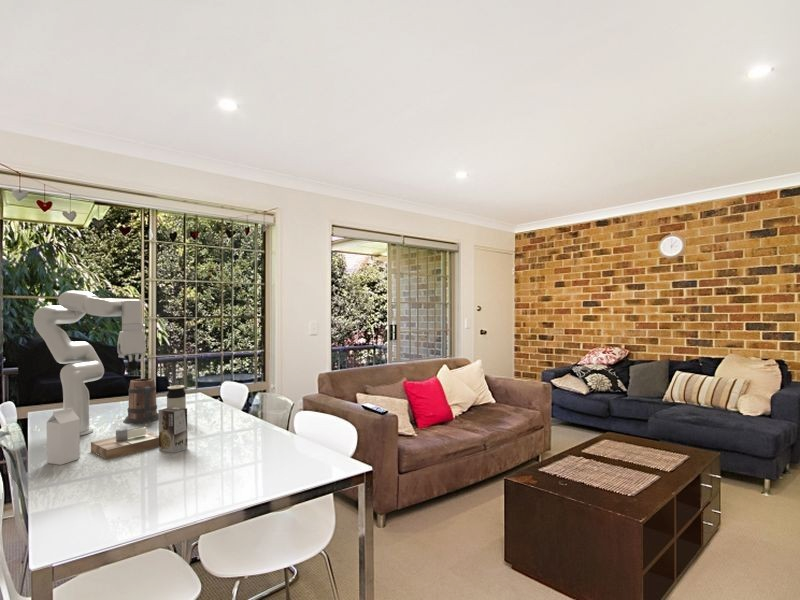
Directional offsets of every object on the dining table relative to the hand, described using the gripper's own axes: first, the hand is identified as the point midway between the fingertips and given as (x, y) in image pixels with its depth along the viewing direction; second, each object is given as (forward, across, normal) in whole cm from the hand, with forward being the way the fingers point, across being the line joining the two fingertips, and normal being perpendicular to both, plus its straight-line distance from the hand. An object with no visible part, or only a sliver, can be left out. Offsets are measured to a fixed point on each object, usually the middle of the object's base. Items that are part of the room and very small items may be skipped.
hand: (132, 370), depth 199 cm
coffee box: (+29, -2, +31) cm, 43 cm away
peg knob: (+25, +7, +14) cm, 30 cm away
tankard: (+29, -16, -26) cm, 42 cm away
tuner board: (+29, +8, +14) cm, 33 cm away
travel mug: (+29, -22, -6) cm, 37 cm away
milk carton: (+29, +28, +11) cm, 42 cm away
